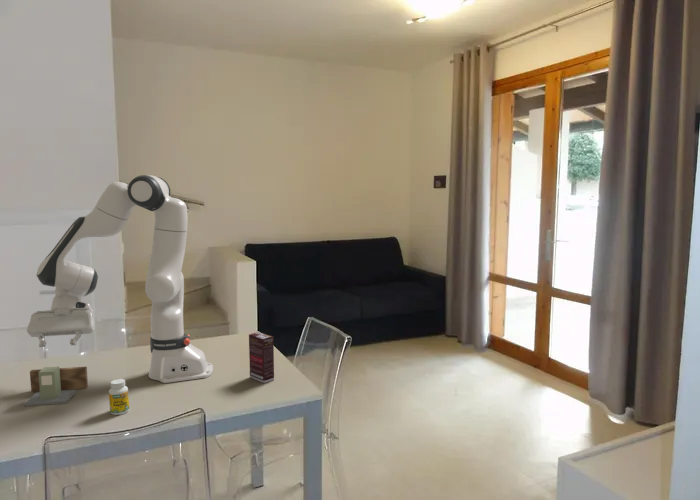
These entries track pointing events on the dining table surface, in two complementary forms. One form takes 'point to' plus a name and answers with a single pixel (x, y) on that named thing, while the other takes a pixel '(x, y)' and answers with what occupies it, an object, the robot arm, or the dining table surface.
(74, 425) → the dining table surface
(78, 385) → the walnut screen
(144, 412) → the dining table surface
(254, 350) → the supplement box
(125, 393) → the supplement bottle
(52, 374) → the olive letter block
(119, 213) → the robot arm
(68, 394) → the display mat
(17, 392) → the dining table surface
